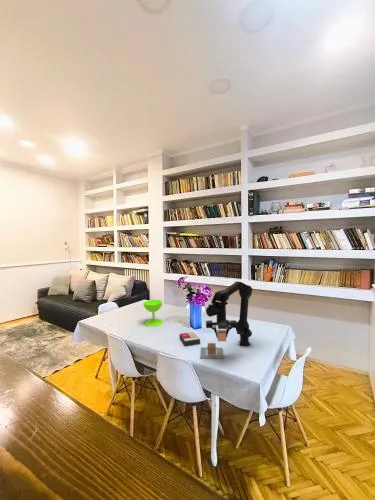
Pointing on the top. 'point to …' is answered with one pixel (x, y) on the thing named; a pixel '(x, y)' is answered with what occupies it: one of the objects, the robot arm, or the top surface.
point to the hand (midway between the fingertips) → (221, 337)
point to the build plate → (205, 354)
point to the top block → (221, 335)
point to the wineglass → (153, 307)
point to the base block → (211, 348)
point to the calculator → (189, 339)
